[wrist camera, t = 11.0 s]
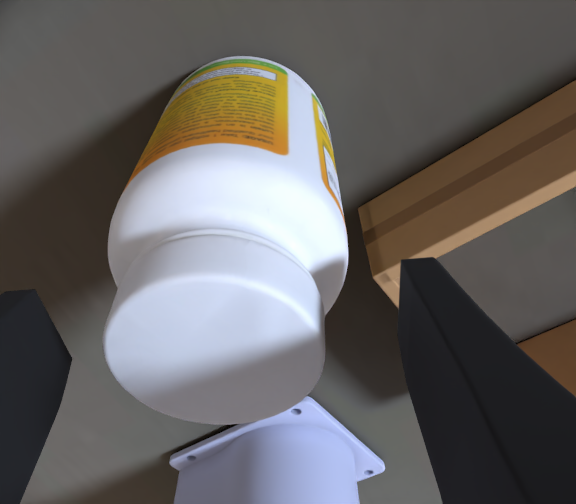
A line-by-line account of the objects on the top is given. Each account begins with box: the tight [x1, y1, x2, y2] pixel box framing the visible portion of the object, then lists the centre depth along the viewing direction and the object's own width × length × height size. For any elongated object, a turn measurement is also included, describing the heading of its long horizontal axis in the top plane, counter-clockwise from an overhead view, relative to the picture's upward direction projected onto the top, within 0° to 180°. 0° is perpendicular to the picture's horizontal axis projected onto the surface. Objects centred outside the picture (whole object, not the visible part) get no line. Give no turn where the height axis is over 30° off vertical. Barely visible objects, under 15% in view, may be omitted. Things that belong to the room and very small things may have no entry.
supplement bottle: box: [103, 56, 348, 425], centre depth 13 cm, size 5×5×10 cm
